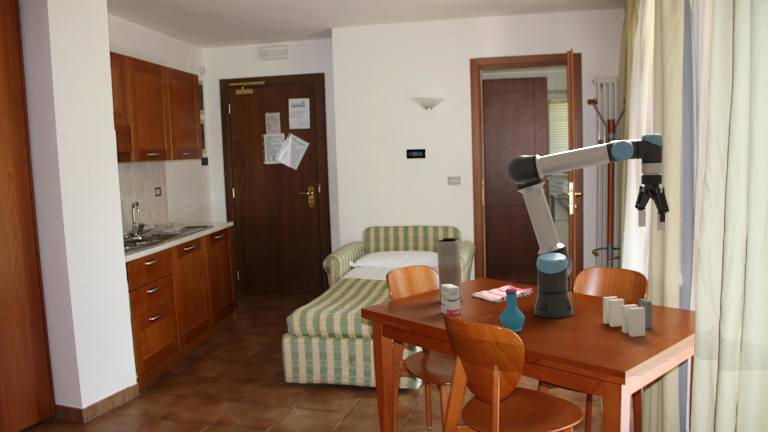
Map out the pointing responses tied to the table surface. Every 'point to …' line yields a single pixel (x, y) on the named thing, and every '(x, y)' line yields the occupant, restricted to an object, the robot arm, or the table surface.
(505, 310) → the perfume bottle
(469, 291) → the table surface
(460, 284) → the vase
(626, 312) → the domino
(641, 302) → the domino
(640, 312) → the domino tail
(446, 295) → the ink box
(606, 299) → the domino head
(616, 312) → the domino
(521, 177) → the robot arm
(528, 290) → the dish towel
